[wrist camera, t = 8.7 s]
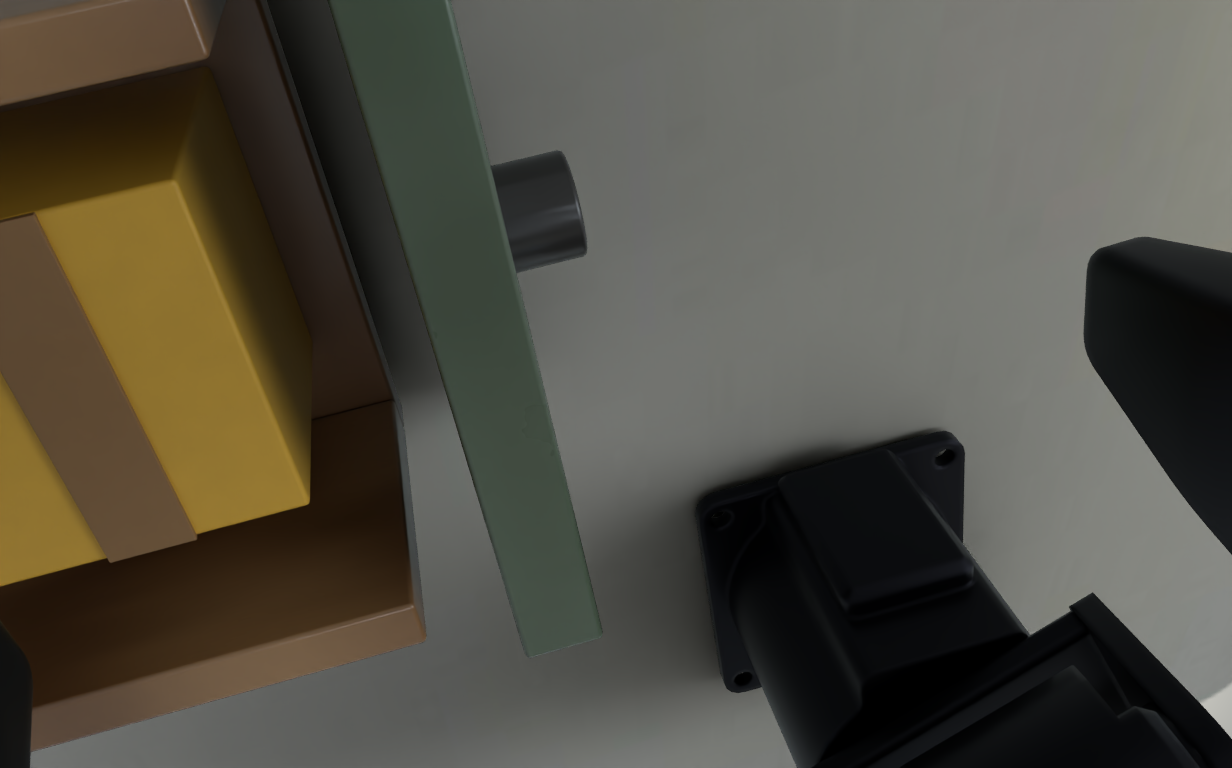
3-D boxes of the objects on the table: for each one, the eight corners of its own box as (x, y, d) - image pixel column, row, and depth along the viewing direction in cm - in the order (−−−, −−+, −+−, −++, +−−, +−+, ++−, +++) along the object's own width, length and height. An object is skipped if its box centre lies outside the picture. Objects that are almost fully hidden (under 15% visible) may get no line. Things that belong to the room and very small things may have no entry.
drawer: (464, -225, 16) (537, -173, 11) (591, 381, 22) (680, 617, 17) (-568, -13, 15) (-1101, 174, 9) (-133, 570, 21) (-298, 894, 15)
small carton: (314, 343, 19) (311, 509, 15) (59, 408, 19) (-10, 594, 15) (209, 64, 17) (174, 181, 13) (-92, 132, 16) (-224, 275, 12)
